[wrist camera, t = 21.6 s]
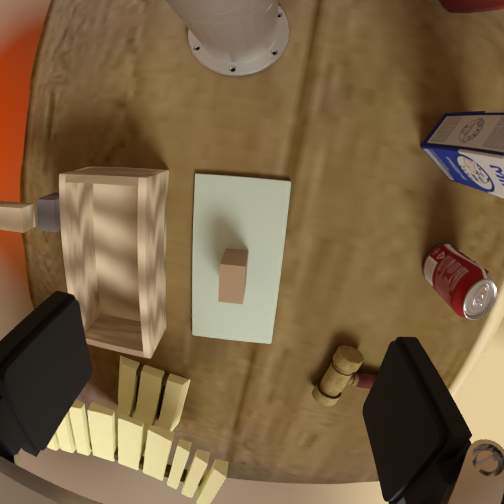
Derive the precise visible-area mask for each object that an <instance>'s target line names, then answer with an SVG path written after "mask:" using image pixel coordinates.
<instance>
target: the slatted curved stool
mask: <svg viewBox="0 0 504 504" xmlns="http://www.w3.org/2000/svg"><path fill="white" fill-rule="evenodd" d="M139 364H140V363H139V362H137V361H134V360H131V359H129V358H126V357H124V356H121V355H120V367H119V386H118V409H117V411H116V414H115V411H113V410H111V409H108V408H106V407H104V406H101V405H99V404H97V403H94V402H92V403H91V405H90V406H89V408H88V420H89V426H88V422H87V418H86V412H85V403H83V402H81V401H78V400H75V402H74V403H73V405H72V406H71V408H70V409H69V412H70V416H69V412H68V413H67V414H66V416H65V417H64V419H63V421H62V422H61V424H60V426H59V427H58V429H57V431H56V432H55V434H54V436H53V437H52V439H51V441H50V442H49V444H48V446H47V447H48V448H50V449H53V450H58V449H59V448H61V450H64V451H67V452H70V453H73V452H74V451H75V449H76V448H77V452H78V453H81V454H84V455H89V454H90V453H91V451H93V455H94V456H97V457H100V458H104V459H107V460H110V461H114V460H115V459H116V460H118V462H119V464H122V465H125V466H128V467H130V468H133V469H136V470H138V469H139V468H140V469H143V473H145V474H148V475H150V476H152V477H155V478H157V479H159V480H163V477H164V476H165V477H168V482H167V485H168V486H170V487H172V488H175V489H177V487H178V485H179V482H180V481H182V482H184V483H183V487H182V492H181V493H182V494H183V495H185V496H187V497H190V498H192V497H193V495H194V493H195V490H196V488H197V486H199V487H198V492H197V498H196V503H198V504H210V503H211V501H212V500H213V498H214V497H215V495H216V493H217V492H218V490H219V489H220V487H221V485H222V484H223V482H224V480H225V479H226V477H227V469H228V462H227V461H222V460H218V459H215V461H214V463H213V465H212V467H211V469H210V470H205V469H206V467H207V465H208V461H209V455H210V452H206V451H202V450H199V449H197V451H196V454H195V456H194V459H193V461H192V464H191V466H190V465H189V467H188V469H187V470H186V469H184V467H185V464H186V461H187V459H188V456H189V453H190V449H191V445H192V442H188V441H185V440H181V439H179V442H178V446H177V449H176V453H175V457H174V460H173V464H172V465H168V464H167V463H168V460H169V456H170V451H171V445H172V440H173V436H174V432H172V431H173V429H174V428H175V427H176V425H177V424H178V423H179V421H180V417H181V414H182V410H183V406H184V402H185V399H186V395H187V391H188V387H189V384H190V379H187V378H184V377H180V376H177V375H174V374H171V373H170V374H169V375H166V374H164V373H165V371H162V370H159V369H156V368H153V367H151V366H148V365H144V367H143V366H140V365H139ZM138 377H140V385H139V392H138V399H137V405H136V410H135V414H134V418H132V417H133V413H134V409H135V401H136V391H137V381H138ZM162 385H164V386H166V388H165V393H164V398H163V403H162V407H161V412H160V416H159V420H158V424H157V427H156V426H154V424H155V420H156V416H157V411H158V405H159V400H160V394H161V389H162ZM70 418H71V420H70ZM144 453H145V457H144Z"/></svg>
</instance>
